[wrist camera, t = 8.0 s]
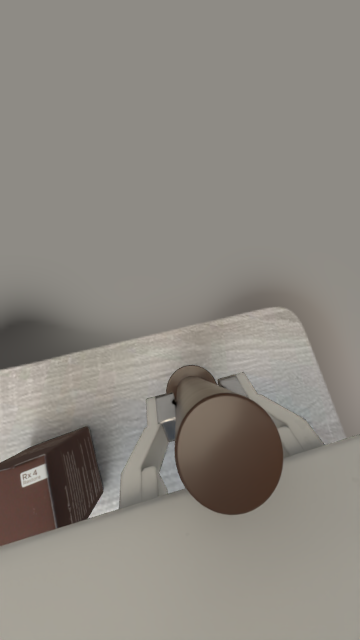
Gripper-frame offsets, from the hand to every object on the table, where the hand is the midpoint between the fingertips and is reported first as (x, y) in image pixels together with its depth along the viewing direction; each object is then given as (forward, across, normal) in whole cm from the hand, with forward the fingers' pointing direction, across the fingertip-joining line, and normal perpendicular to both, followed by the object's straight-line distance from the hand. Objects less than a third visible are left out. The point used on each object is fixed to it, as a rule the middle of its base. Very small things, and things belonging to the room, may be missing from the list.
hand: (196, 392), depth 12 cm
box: (+4, +13, +10) cm, 17 cm away
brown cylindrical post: (+6, 0, +7) cm, 9 cm away
